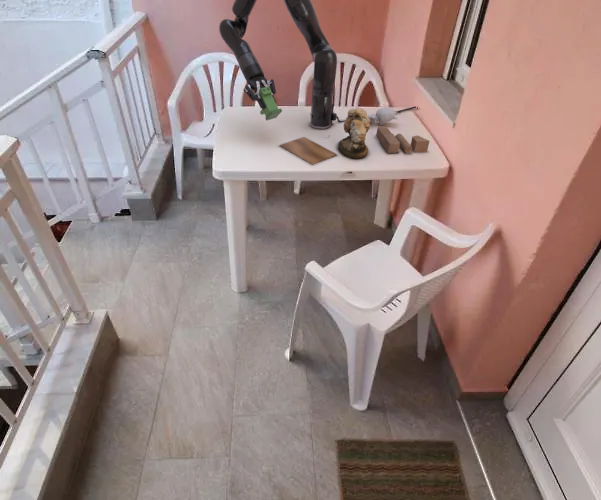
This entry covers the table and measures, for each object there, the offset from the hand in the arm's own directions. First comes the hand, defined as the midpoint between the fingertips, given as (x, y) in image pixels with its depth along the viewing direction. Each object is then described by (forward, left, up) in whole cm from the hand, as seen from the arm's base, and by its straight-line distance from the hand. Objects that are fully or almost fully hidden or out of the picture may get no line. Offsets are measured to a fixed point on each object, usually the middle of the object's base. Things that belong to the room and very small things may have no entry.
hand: (269, 106), depth 165 cm
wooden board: (-6, +17, -14) cm, 23 cm away
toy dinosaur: (0, 0, -5) cm, 5 cm away
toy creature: (-51, +16, -14) cm, 55 cm away
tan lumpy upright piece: (-22, +27, -14) cm, 38 cm away
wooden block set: (-42, +36, -14) cm, 57 cm away
